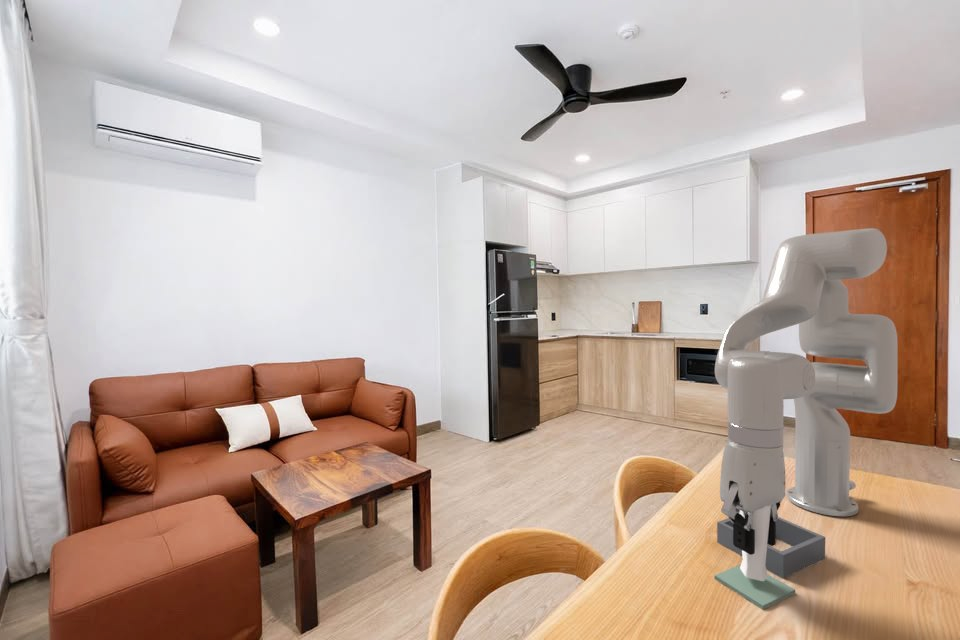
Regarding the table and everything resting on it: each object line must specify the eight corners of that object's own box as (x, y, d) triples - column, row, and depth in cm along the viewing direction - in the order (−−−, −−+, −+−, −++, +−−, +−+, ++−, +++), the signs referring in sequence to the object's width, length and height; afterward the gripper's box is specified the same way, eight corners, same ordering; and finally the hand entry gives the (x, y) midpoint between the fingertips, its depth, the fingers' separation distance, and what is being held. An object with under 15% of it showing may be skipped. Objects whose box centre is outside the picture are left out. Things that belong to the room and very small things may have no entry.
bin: (757, 527, 88) (757, 507, 87) (825, 559, 77) (825, 537, 76) (717, 542, 83) (717, 521, 82) (783, 578, 72) (783, 555, 72)
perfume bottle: (776, 584, 68) (778, 490, 67) (746, 581, 69) (746, 488, 68) (764, 566, 72) (764, 478, 71) (735, 563, 73) (735, 476, 72)
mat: (745, 565, 75) (745, 562, 75) (795, 593, 68) (795, 589, 68) (714, 578, 72) (714, 575, 72) (762, 609, 65) (762, 605, 65)
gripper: (764, 421, 76) (764, 522, 77) (697, 436, 69) (697, 547, 70) (812, 433, 69) (810, 544, 70) (742, 451, 62) (742, 574, 63)
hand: (754, 544), depth 70 cm, fingers closed on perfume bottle, 4 cm apart
